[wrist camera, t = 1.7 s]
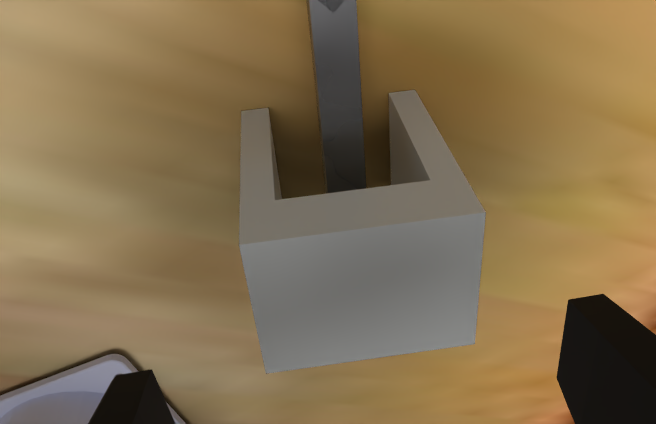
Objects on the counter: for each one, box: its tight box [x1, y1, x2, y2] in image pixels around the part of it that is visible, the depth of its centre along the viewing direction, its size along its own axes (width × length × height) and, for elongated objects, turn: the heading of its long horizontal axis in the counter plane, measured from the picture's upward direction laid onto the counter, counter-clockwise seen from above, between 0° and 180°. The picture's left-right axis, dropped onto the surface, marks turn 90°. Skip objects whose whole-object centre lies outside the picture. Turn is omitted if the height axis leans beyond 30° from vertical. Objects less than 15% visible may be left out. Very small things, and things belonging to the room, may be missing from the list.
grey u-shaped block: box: [239, 90, 486, 374], centre depth 16 cm, size 4×5×6 cm
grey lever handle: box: [307, 0, 366, 194], centre depth 14 cm, size 20×6×4 cm, turn 22°
